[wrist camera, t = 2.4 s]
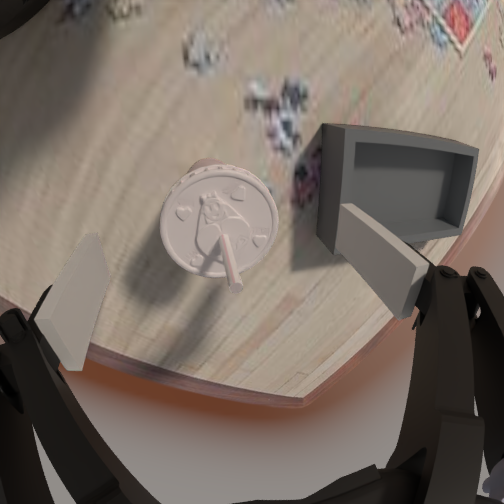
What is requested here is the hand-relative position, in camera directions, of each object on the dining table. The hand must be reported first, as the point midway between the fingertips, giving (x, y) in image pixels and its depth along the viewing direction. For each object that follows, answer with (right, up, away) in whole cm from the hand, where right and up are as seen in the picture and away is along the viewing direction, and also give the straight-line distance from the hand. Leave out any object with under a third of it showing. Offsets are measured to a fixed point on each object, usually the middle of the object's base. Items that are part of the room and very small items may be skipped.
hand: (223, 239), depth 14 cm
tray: (+17, +7, +12) cm, 22 cm away
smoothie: (-2, +6, +8) cm, 10 cm away
